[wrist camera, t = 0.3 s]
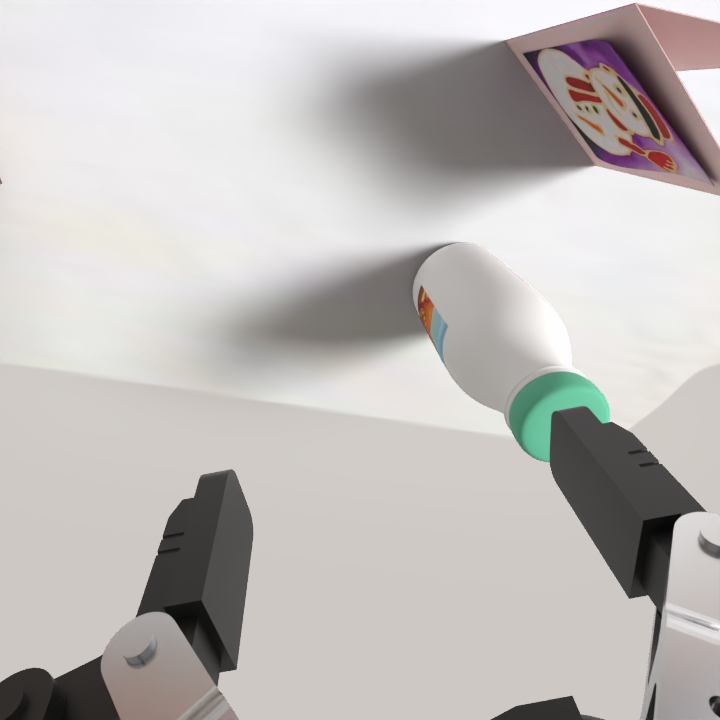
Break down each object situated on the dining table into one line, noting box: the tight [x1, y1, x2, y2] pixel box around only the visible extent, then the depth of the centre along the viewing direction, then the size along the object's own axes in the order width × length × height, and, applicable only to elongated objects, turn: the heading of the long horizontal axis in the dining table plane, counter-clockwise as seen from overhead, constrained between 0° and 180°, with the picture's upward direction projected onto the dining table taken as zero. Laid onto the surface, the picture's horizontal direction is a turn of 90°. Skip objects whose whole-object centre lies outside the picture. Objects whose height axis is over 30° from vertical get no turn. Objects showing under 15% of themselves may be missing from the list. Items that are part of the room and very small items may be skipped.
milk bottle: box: [413, 243, 610, 462], centre depth 32 cm, size 8×8×20 cm
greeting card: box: [505, 3, 720, 196], centre depth 28 cm, size 11×7×15 cm, turn 46°
